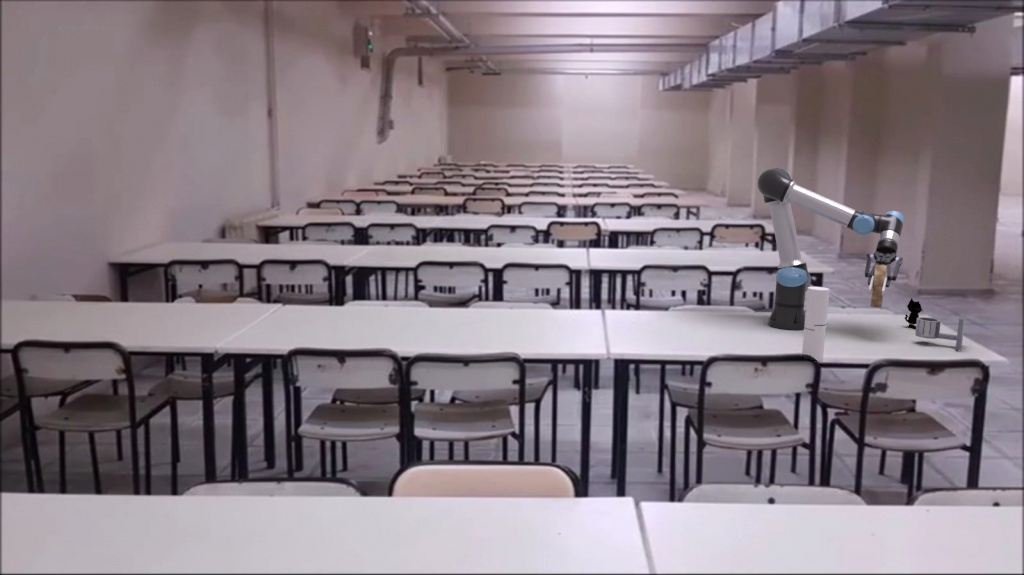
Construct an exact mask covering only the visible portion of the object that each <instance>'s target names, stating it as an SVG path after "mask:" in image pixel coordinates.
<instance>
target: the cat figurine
mask: <svg viewBox="0 0 1024 575" xmlns="http://www.w3.org/2000/svg"><path fill="white" fill-rule="evenodd" d="M906 308H907V310H908V312H910V314H909V315H908V314H905V315H904V320H905V322H906V323H908V326H907V328H910V329H912V330H916V322H917V318H918V317H920V316H919V314H920V313H921V312H922V313H924V310H923V308H922V304H921V303H920V301H919V300H918V301H914V299H913V298H912V297H911V299H910V300H909V302H908V304H907V306H906Z"/></svg>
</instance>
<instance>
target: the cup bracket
mask: <svg viewBox="0 0 1024 575" xmlns="http://www.w3.org/2000/svg"><path fill="white" fill-rule="evenodd" d="M966 315H967V314H966V313H965V314H964V313H960V316H959V319H958V325H957V334H950V333H944V332H942V333H941V332H940V331H941V323H942V321H941V319H938V318H935V317H926V316H924V317H923V316H919V317H918V318H917V322H916V324H915V326H916V329H915V336H916V337H918V338H922V339H930V340H931V339H933V340H935V339H941V340H948V341H949V340H950V341H956V342H955V349H954V350H960V351H961V348H962V347H961V346H963V339H964V331H965V322H966Z"/></svg>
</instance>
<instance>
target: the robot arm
mask: <svg viewBox="0 0 1024 575" xmlns="http://www.w3.org/2000/svg"><path fill="white" fill-rule="evenodd" d="M757 188H758V190H759V193H760V194H762V196H763V201H764V204H765V205H766V206H768V208H769V212H770V217H771V222H772V228H773V232H774V237H775V241H776V248H777V252H778V256H779V262H780V263H779V264H778V266H777V272H776V276H775V278H776V283H775V293H774V294H775V295H774V296H775V297H774V305H773V309H772V311H771V313H770V316H769V318H768V323H767V325H769V326H770V327H772V328H776V329H782V330H790V331H791V330H793V331H799V330H800V331H801V330H804V325H805V314H806V310H805V303H806V302H805V300H806V292H807V291H808V287H811V284H812V277H811V274H810V273H809V271H808V265H807V262H806V260H804V259H803V258H802V256H801V250H800V245H799V240H798V235H797V234H798V233H797V229H796V224H795V219H794V215H793V214H794V213H793V210H792V205H794V206H797V207H799V208H801V209H804V210H806V211H808V212H811V213H813V214H815V215H818V216H819V217H822V218H825V219H826V220H828V221H831V222H834V223H835V224H838V225H840V226H843V227H845V228H848V229H849V230H851V231H854V232H855V233H856V234H858V235H861V236H862V235H863V236H865V235H869V234H870V233H874V234H879V235H878V240H877V244H876V248H875V252H874V253H873V254H870V253H867V254H866V264H865V269H864V277H865V278H867V279H868V280H867V286H868V293H869V294H872V289H873V281H874V273H875V265H885V266H887V267H886V276H885V280H884V284H883V288H882V295H883V296H884V295H885V293H886V288H889V287H890V284H891V281H893V282H896V281H897V278H898V275H899V270H900V267H901V266H902V264H903V262H904V261H903V260H904V259H903V257H898V256H897V252H898V247H899V245H900V244H899V243H900V239H901V234H902V230H903V226H904V221H905V219H904V218H905V217H904V215H903V214H902V213H901V212H899V211H896V210H889V211H887V212H886V213H885V214H876V213H872V212H865V211H862V210H856V209H853V208H851V207H850V206H847V205H845V204H843V203H840V202H838V201H837V200H836V201H835V200H833V199H831V198H829V197H826V196H824V195H821V194H819V193H818V192H817V193H816V192H814V191H812V190H810V189H808V188H805V187H803V186H801V185H798V184H797V183H796V181H795V180H794V179H792V177H791V175H790V174H789V172H788V171H786V170H785V169H783V168H779V167H775V168H773V167H772V168H769V169H767V170H764V171H763V172H762V173H761V174H760V175H759V176H758V179H757ZM791 204H792V205H791ZM873 259H874V260H875V262H874V265H873V266H872V269H871V263H872V261H873ZM894 262H895V266H894V268H893V269H894V270H893V273H891V264H892V263H894ZM870 269H871V270H870ZM891 274H892V275H891Z"/></svg>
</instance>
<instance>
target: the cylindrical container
mask: <svg viewBox="0 0 1024 575" xmlns="http://www.w3.org/2000/svg"><path fill="white" fill-rule="evenodd" d="M806 292H807V293H806V302H805V325H804V329H803V340H802V348H801V355H802V354H808V355H811V356H813V357H814V358H815V359H816V360H817V361H816V362H821V361H823V360H824V351H825V340H826V331H827V319H828V310H829V308H828V307H829V299H830V298H829V297H830V288H828V287H823V286H810V287H808V290H807V291H806Z"/></svg>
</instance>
